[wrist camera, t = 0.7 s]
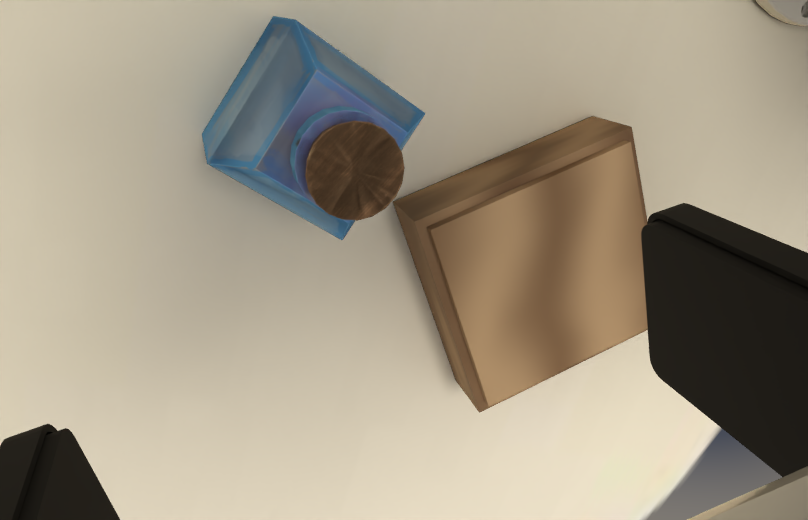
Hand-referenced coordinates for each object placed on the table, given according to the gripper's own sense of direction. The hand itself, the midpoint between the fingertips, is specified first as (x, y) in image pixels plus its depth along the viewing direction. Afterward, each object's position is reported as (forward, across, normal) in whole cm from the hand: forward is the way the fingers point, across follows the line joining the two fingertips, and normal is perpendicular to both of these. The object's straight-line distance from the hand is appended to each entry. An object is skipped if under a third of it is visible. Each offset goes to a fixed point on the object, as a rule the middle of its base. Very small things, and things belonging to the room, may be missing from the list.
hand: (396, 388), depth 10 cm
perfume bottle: (+23, -2, 0) cm, 23 cm away
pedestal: (+23, -12, +11) cm, 28 cm away
